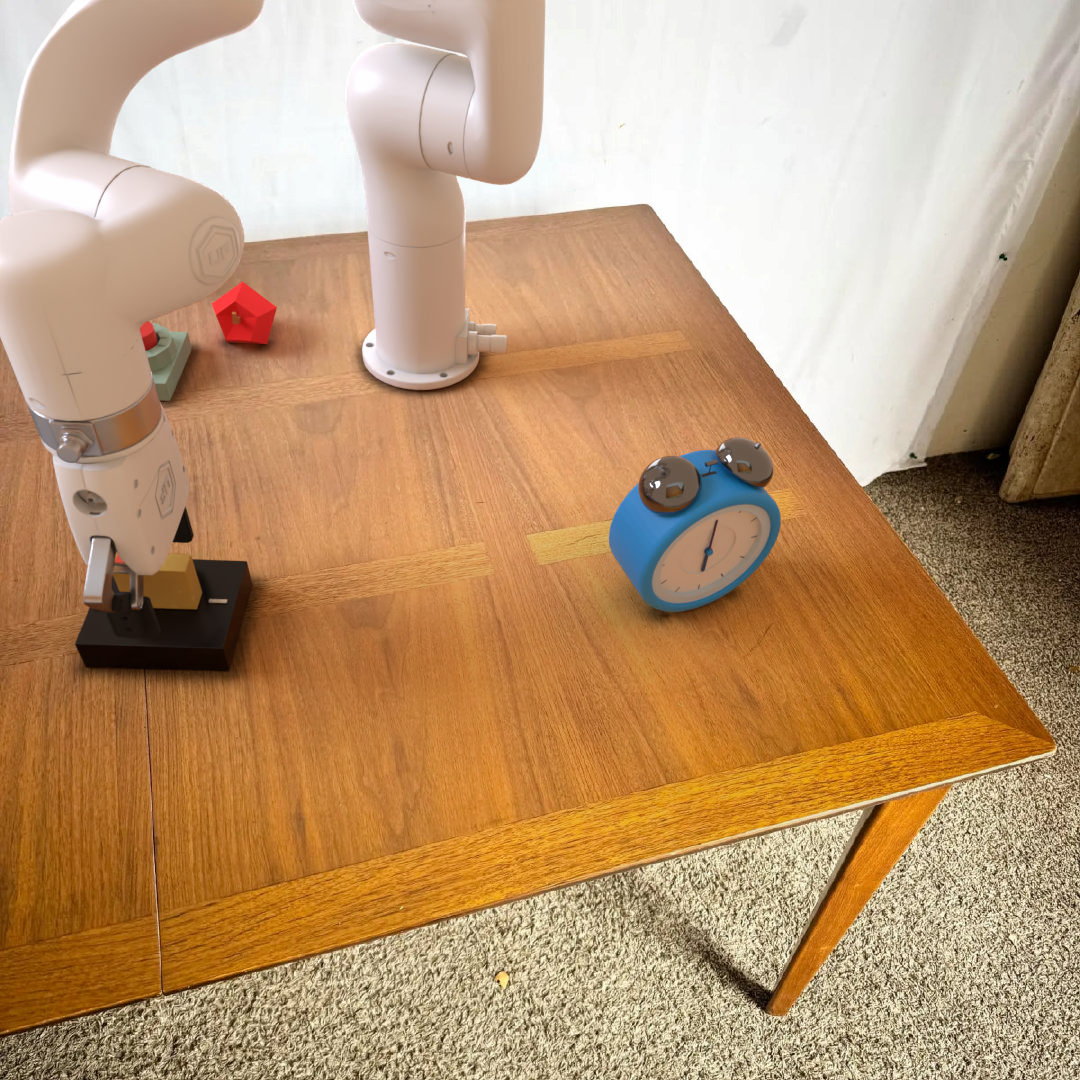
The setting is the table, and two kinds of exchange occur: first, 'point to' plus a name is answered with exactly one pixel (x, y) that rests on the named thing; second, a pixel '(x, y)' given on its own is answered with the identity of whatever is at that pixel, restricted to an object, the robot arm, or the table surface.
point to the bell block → (168, 359)
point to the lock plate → (178, 627)
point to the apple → (244, 315)
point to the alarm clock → (697, 525)
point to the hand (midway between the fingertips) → (157, 584)
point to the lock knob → (168, 583)
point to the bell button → (148, 335)
